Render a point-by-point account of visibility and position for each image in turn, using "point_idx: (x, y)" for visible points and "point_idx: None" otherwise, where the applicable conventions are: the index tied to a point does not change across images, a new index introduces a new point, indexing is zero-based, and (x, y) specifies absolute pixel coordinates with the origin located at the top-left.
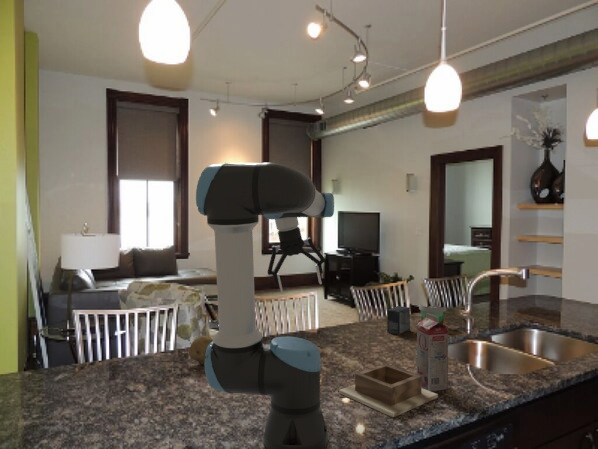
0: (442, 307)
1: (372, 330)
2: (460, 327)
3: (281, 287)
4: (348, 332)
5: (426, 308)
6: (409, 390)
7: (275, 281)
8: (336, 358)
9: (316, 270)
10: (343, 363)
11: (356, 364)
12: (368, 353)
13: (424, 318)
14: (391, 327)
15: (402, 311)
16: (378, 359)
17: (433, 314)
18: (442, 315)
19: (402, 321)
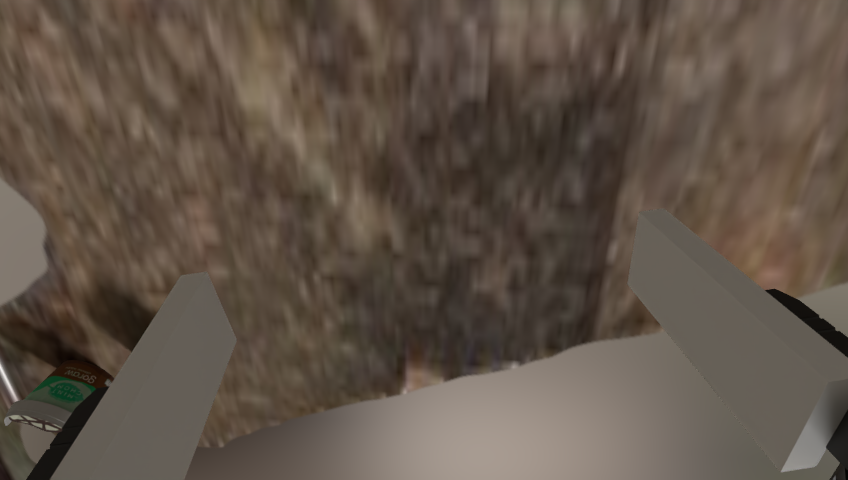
0: (7, 416)
1: (242, 365)
2: (17, 365)
3: (687, 246)
4: (309, 357)
5: (57, 418)
6: None
7: (811, 317)
8: (324, 132)
9: (177, 460)
10: (291, 74)
11: (239, 62)
12: (217, 181)
13: (88, 394)
14: None
15: None
16: (168, 119)
17: (48, 397)
18: (29, 394)
19: None
